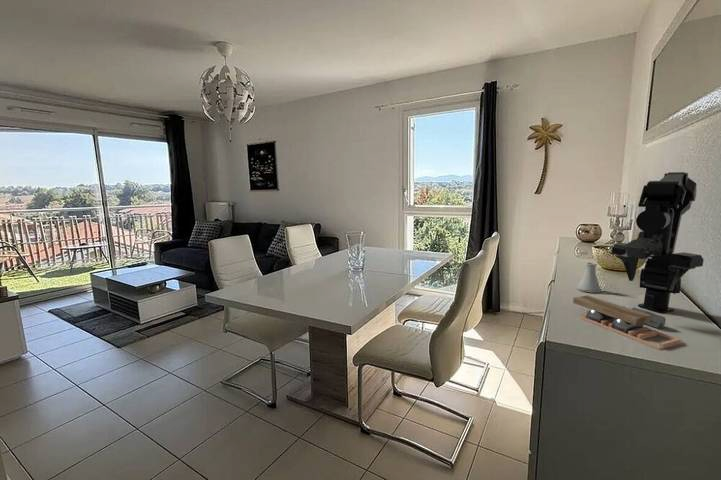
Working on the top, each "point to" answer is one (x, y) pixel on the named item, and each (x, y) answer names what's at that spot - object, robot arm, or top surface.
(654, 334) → the roller track
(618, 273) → the top surface
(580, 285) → the flask
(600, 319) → the rear roller
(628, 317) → the walnut board
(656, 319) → the roller
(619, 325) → the middle roller
